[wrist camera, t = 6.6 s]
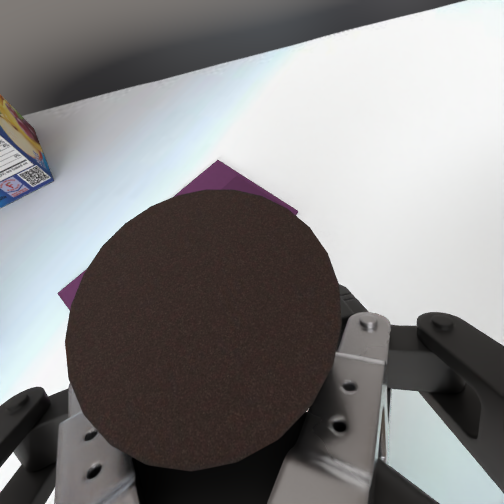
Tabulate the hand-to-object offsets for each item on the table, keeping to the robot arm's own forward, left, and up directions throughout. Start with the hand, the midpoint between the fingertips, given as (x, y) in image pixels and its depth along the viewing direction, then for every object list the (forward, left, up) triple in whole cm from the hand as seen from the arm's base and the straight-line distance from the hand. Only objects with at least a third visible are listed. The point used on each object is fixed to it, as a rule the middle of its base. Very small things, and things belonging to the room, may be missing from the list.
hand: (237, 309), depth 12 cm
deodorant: (+1, +1, -8) cm, 8 cm away
